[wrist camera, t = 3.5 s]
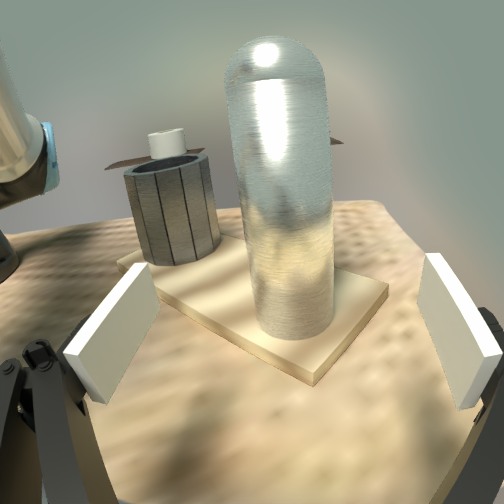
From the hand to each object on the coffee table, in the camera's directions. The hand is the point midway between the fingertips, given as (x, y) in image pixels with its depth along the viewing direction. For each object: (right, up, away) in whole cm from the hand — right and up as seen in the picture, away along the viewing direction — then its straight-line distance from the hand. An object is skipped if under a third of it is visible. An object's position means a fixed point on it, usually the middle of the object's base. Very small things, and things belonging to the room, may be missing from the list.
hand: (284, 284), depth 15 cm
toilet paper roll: (-37, +43, +118) cm, 131 cm away
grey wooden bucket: (-11, +2, +27) cm, 29 cm away
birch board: (-4, -2, +20) cm, 21 cm away
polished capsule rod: (+2, -3, +13) cm, 14 cm away
